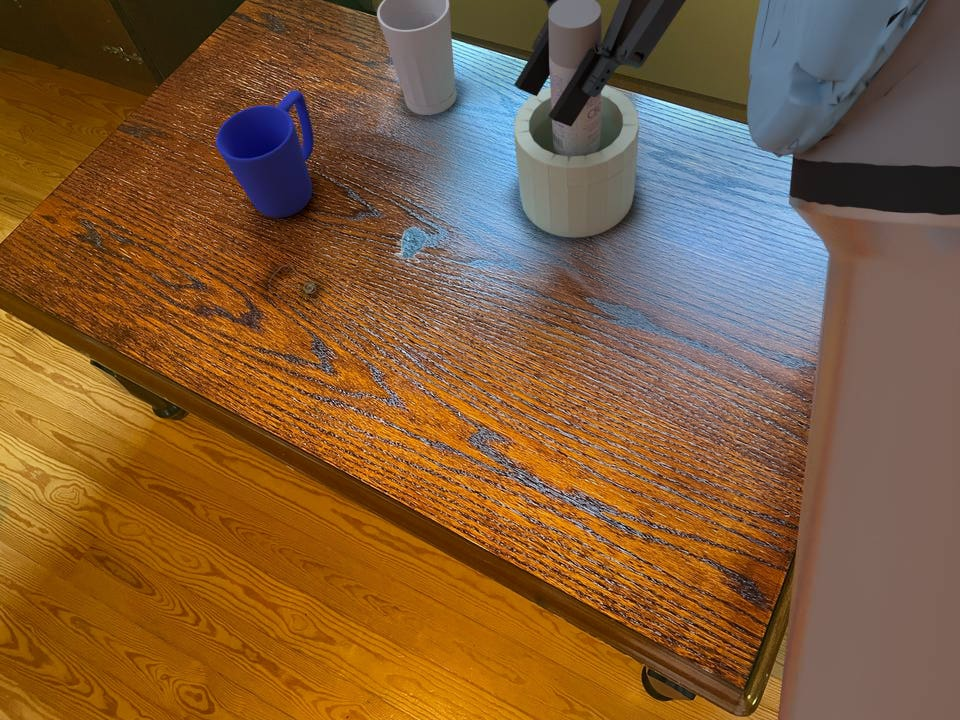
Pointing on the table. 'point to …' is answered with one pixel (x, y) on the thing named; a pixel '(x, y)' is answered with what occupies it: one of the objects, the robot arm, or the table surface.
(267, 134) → the mug
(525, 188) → the round pot
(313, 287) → the necklace
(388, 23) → the cup
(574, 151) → the container
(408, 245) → the table surface
